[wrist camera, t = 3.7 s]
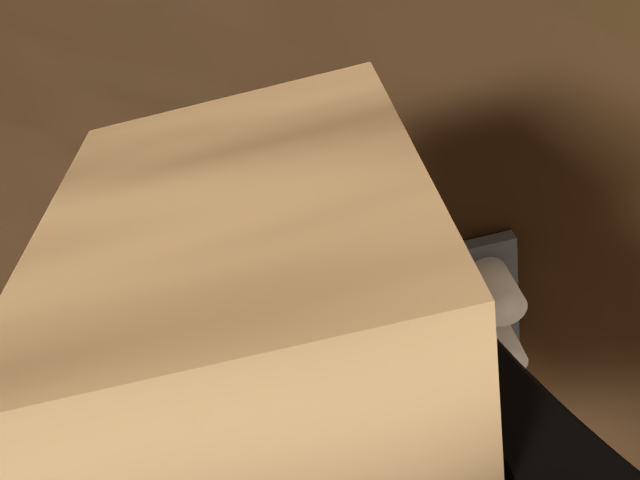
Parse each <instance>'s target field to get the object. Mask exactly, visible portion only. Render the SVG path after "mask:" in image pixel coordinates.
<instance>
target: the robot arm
mask: <svg viewBox="0 0 640 480" xmlns="http://www.w3.org/2000/svg"><path fill="white" fill-rule="evenodd" d="M497 354H498V372H499V390H500V408H501V426H502V444H503V462H504V480H640V471H639V470H638V469H636V468H635V467H634V466H633V465H632V464H630V463H629V462H628V461H627V460H625V459H624V458H623V457H622V456H621V455H619V454H618V453H617V452H616V451H615V450H613V449H612V448H611V447H610V446H609V445H607V444H606V443H605V442H604V441H603V440H602V439H601V438H599V437H598V436H597V435H596V434H595V433H594V432H593V431H591V430H590V429H589V428H588V427H587V426H586V425H585V424H584V423H582V422H581V421H580V420H579V419H578V418H577V417H576V416H575V415H573V414H572V413H571V412H570V411H569V410H568V409H567V408H566V407H565V406H564V405H563V404H562V403H560V402H559V401H558V400H557V399H556V398H555V397H554V396H553V395H552V394H551V393H550V392H549V391H548V390H547V389H546V388H545V387H544V386H543V385H542V384H541V383H540V382H539V381H538V380H537V379H536V378H535V377H534V376H533V375H532V374H531V373H530V372H529V371H528V370H527V369H526V368H525V367H524V366H523V365H522V364H521V363H520V362H519V361H518V360H517V359H516V358H515V357H514V356H513V355H512V354H511V353H510V352H509V351H508V349H507V348H506V347H505V346H504V345H503V344H502V343H501V342H500V341H499V340H498V339H497Z"/></svg>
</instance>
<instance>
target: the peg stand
mask: <svg viewBox="0 0 640 480" xmlns="http://www.w3.org/2000/svg"><path fill="white" fill-rule="evenodd" d="M464 243H465V245H466V247H467V249H468V251H469V253H470V255H471V256H472V258H473V260H474V262H475V264H476V266H477V268H478V270H479V272H480V274H481V276H482V278H483V280H484V281H485V283H486V285H487V287H488V289H489V291H490V293H491V295H492V297H493V299H494V301H495V317H496V335H497V339H498V340H499V341H500V342H501V343H502V344H503V345H504V346H505V347H506V348H507V349H508V351H509V352H510V353H511V354H512V355H513V356H514V357H515V358H516V359H517V360H518V361H519V362H520V363H521V364H522V365H523V366H524V367H525V368H526V367H527V365H528V357H527V355H526V353H525V351H524V350H523V348H522V346H521V344H520V330H519V320H520V319H521V318H522V317H523V316H524V315H525V313H526V311H527V308H528V304H527V301H526V299H525V297H524V295H523V294H522V292H521V290H520V289H519V287H518V252H517V237H516V236H515V234H514V232H513V231H512V230H508V231H504V232H499V233H495V234H491V235H487V236H482V237H478V238H474V239H469V240H465V241H464Z"/></svg>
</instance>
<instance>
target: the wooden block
mask: <svg viewBox="0 0 640 480" xmlns="http://www.w3.org/2000/svg"><path fill="white" fill-rule="evenodd" d="M0 480H504V462H503V444H502V426H501V408H500V390H499V372H498V354H497V335H496V317H495V301H494V299H493V297H492V295H491V293H490V291H489V289H488V287H487V285H486V283H485V281H484V280H483V278H482V276H481V274H480V272H479V270H478V268H477V266H476V264H475V262H474V260H473V258H472V256H471V255H470V253H469V251H468V249H467V247H466V245H465V243H464V241H463V239H462V237H461V235H460V233H459V231H458V229H457V228H456V226H455V224H454V222H453V220H452V218H451V216H450V214H449V212H448V210H447V208H446V206H445V204H444V203H443V201H442V199H441V197H440V195H439V193H438V191H437V189H436V187H435V185H434V183H433V181H432V179H431V178H430V176H429V174H428V172H427V170H426V168H425V166H424V164H423V162H422V160H421V158H420V156H419V154H418V153H417V151H416V149H415V147H414V145H413V143H412V141H411V139H410V137H409V135H408V133H407V131H406V129H405V128H404V126H403V124H402V122H401V120H400V118H399V116H398V114H397V112H396V110H395V108H394V106H393V104H392V103H391V101H390V99H389V97H388V95H387V93H386V91H385V89H384V87H383V85H382V83H381V81H380V79H379V77H378V76H377V74H376V72H375V70H374V68H373V66H372V64H371V62H367V63H363V64H359V65H355V66H351V67H347V68H343V69H339V70H335V71H331V72H327V73H323V74H319V75H315V76H310V77H306V78H302V79H298V80H294V81H290V82H286V83H282V84H278V85H274V86H270V87H266V88H262V89H258V90H254V91H249V92H245V93H241V94H237V95H233V96H229V97H225V98H221V99H217V100H213V101H209V102H205V103H201V104H197V105H192V106H188V107H184V108H180V109H176V110H172V111H168V112H164V113H160V114H156V115H152V116H148V117H144V118H140V119H136V120H131V121H127V122H123V123H119V124H115V125H111V126H107V127H103V128H99V129H95V130H91V131H89V133H88V134H87V136H86V138H85V140H84V142H83V144H82V146H81V147H80V149H79V151H78V153H77V155H76V157H75V158H74V160H73V162H72V164H71V166H70V168H69V170H68V171H67V173H66V175H65V177H64V179H63V181H62V182H61V184H60V186H59V188H58V190H57V192H56V194H55V195H54V197H53V199H52V201H51V203H50V205H49V207H48V208H47V210H46V212H45V214H44V216H43V218H42V219H41V221H40V223H39V225H38V227H37V229H36V231H35V232H34V234H33V236H32V238H31V240H30V242H29V244H28V245H27V247H26V249H25V251H24V253H23V255H22V256H21V258H20V260H19V262H18V264H17V266H16V268H15V269H14V271H13V273H12V275H11V277H10V279H9V281H8V282H7V284H6V286H5V288H4V290H3V292H2V293H1V295H0Z"/></svg>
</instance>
